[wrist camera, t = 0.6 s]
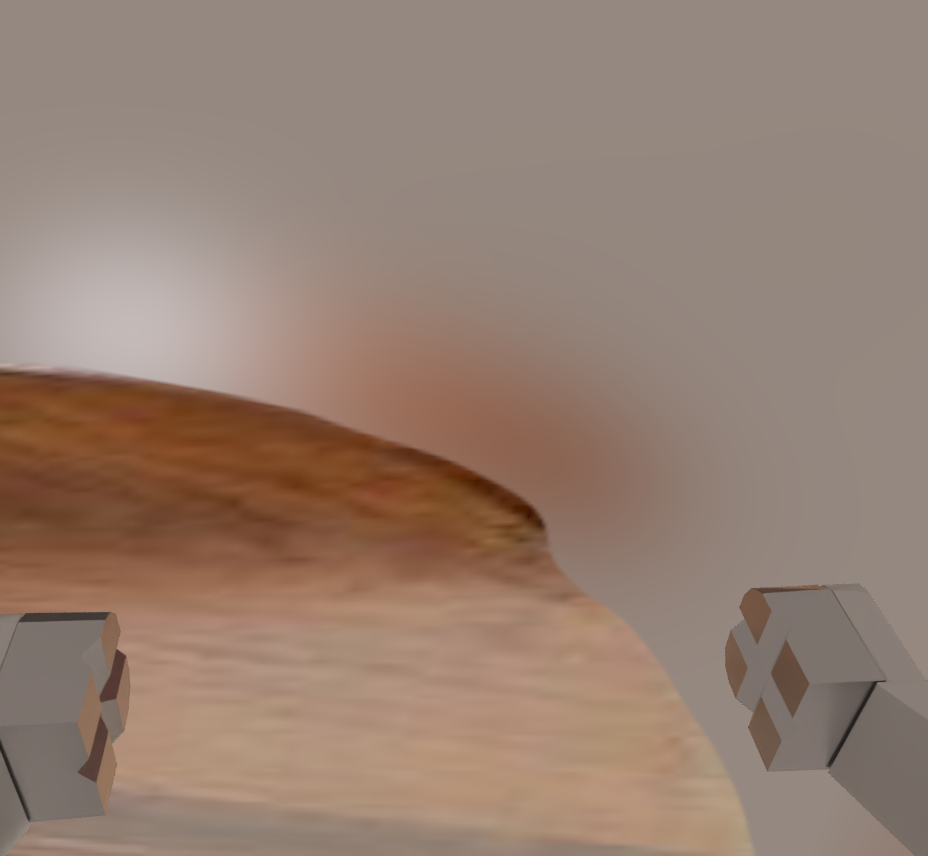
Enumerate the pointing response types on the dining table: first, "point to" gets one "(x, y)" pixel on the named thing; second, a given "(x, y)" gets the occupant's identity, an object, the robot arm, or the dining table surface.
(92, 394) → the dining table surface
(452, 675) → the dining table surface
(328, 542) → the dining table surface
